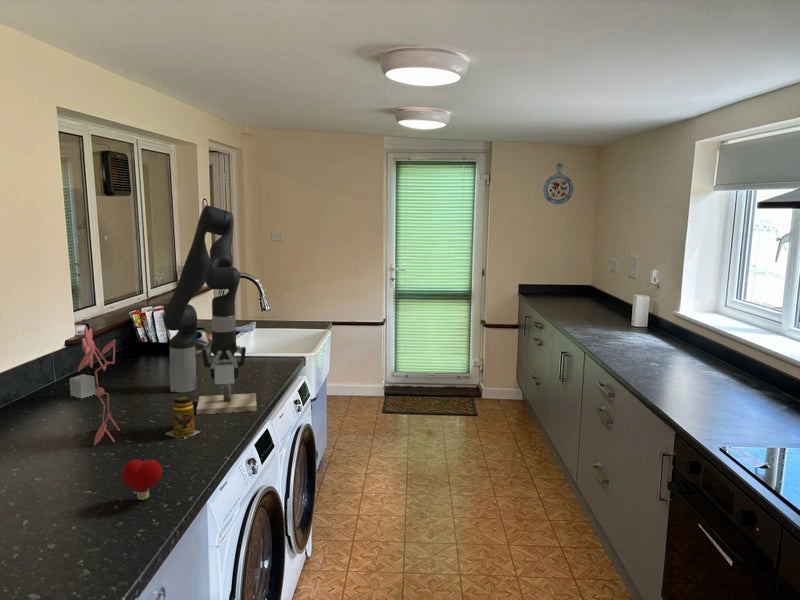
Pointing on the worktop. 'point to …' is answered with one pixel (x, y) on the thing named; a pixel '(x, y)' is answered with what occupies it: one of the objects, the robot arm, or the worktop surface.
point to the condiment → (183, 417)
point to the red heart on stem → (141, 476)
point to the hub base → (226, 402)
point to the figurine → (89, 350)
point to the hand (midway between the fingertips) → (224, 378)
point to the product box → (82, 386)
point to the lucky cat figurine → (202, 340)
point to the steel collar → (224, 372)
